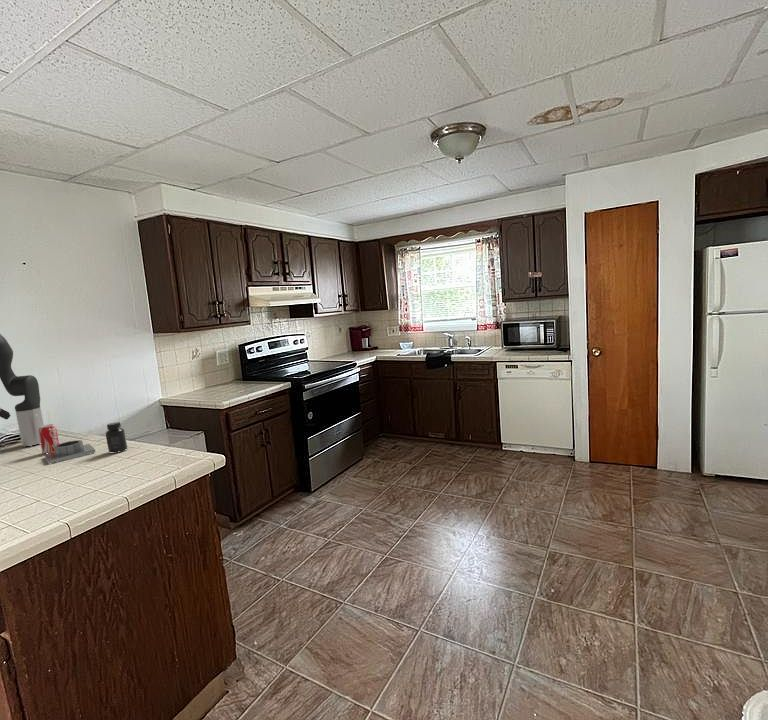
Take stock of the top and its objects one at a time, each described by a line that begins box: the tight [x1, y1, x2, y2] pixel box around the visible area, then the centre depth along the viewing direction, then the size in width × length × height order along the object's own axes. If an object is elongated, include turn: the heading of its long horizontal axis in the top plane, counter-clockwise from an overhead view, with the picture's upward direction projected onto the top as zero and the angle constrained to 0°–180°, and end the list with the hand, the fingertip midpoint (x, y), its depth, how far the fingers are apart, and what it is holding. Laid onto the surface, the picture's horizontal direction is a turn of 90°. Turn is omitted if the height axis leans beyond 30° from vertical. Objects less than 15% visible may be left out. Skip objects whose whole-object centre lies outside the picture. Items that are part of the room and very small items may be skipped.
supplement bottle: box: [105, 421, 128, 453], centre depth 182 cm, size 7×7×12 cm
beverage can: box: [38, 423, 60, 454], centre depth 190 cm, size 6×6×12 cm
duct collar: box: [43, 439, 96, 465], centre depth 182 cm, size 14×16×5 cm
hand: (8, 416), depth 180 cm, fingers open, 8 cm apart
